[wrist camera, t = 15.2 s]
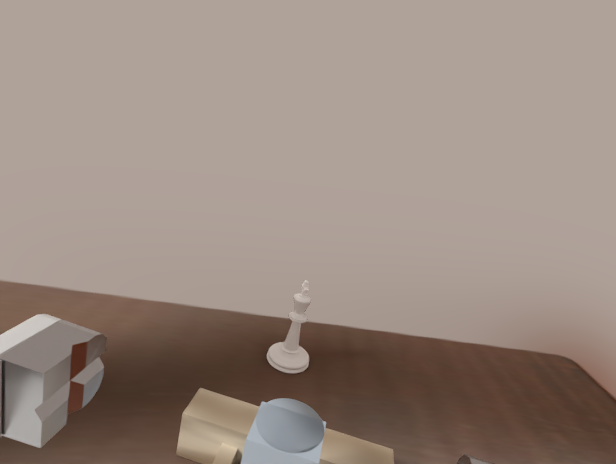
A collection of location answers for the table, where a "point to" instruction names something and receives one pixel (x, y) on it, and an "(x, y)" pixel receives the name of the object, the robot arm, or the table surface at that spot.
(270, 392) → the table surface
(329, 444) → the light wooden frame
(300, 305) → the chess piece
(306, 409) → the peg
